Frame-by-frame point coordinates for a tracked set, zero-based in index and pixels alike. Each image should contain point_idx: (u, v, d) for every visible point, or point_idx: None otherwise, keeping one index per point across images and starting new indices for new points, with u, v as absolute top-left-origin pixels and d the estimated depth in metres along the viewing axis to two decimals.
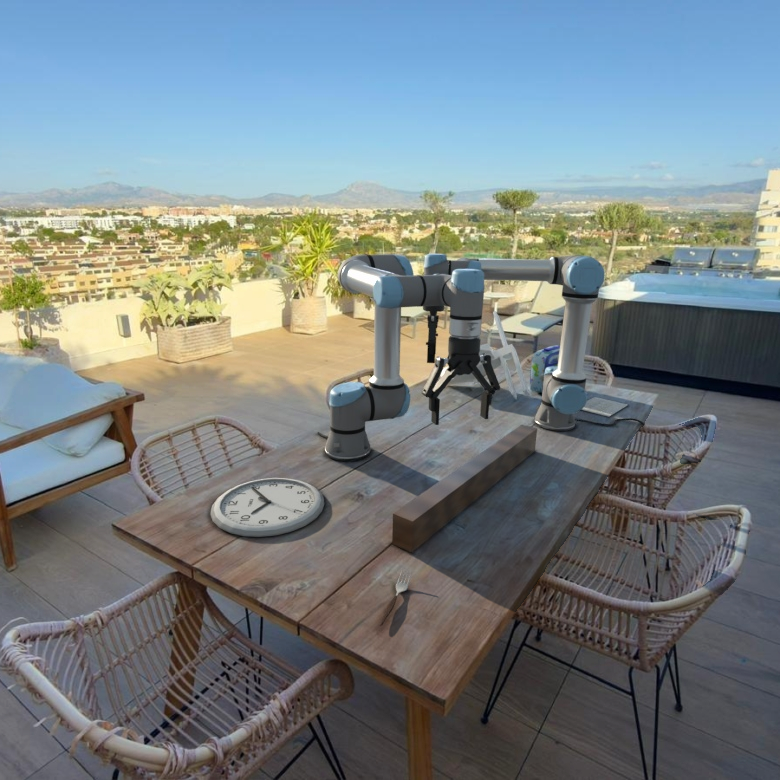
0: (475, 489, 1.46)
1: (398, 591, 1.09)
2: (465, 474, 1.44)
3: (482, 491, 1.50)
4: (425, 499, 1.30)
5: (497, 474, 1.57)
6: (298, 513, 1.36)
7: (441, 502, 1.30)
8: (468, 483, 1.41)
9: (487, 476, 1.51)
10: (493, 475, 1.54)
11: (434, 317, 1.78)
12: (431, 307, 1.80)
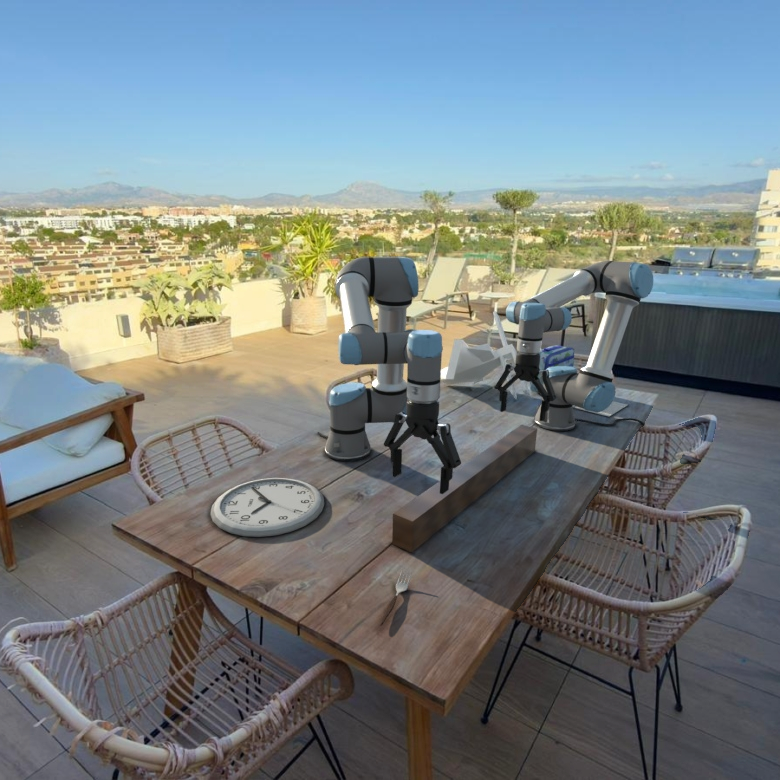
0: (475, 489, 1.46)
1: (398, 591, 1.09)
2: (465, 474, 1.44)
3: (482, 491, 1.50)
4: (425, 499, 1.30)
5: (497, 474, 1.57)
6: (298, 513, 1.36)
7: (441, 502, 1.30)
8: (468, 483, 1.41)
9: (487, 476, 1.51)
10: (493, 475, 1.54)
11: (548, 371, 1.64)
12: (538, 361, 1.64)
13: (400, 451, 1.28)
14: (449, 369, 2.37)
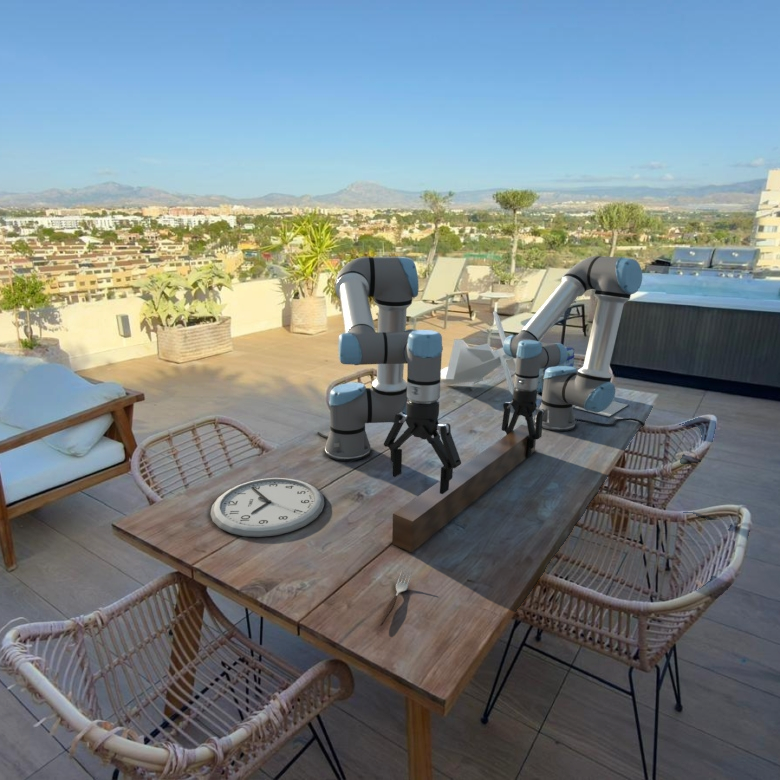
0: (475, 489, 1.46)
1: (398, 591, 1.09)
2: (465, 474, 1.44)
3: (482, 491, 1.50)
4: (425, 499, 1.30)
5: (497, 474, 1.57)
6: (298, 513, 1.36)
7: (441, 502, 1.30)
8: (468, 483, 1.41)
9: (487, 476, 1.51)
10: (493, 475, 1.54)
11: (543, 411, 1.68)
12: (535, 398, 1.68)
13: (400, 451, 1.28)
14: (449, 369, 2.37)
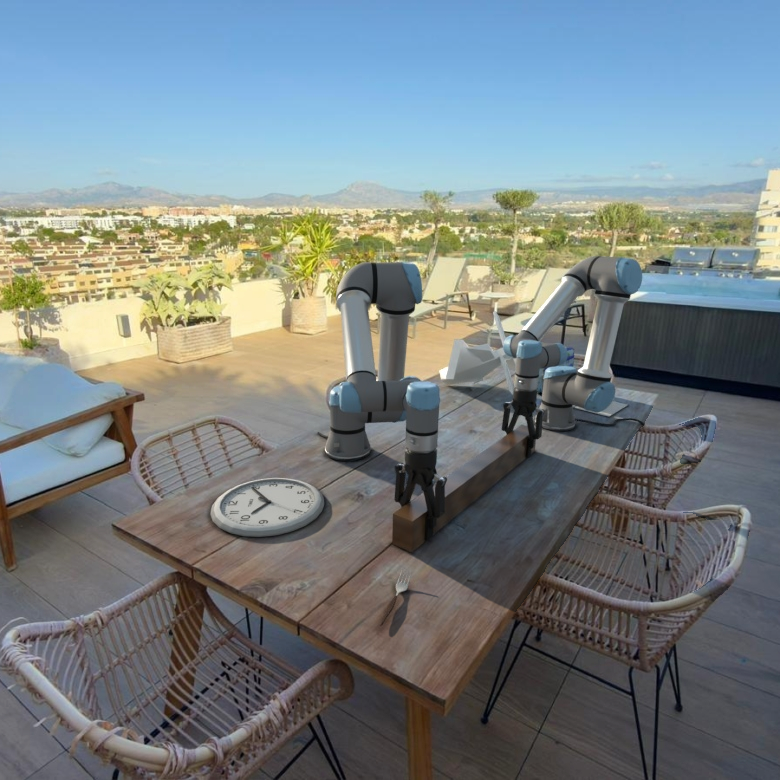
0: (475, 489, 1.46)
1: (398, 591, 1.09)
2: (465, 474, 1.44)
3: (482, 491, 1.50)
4: None
5: (497, 474, 1.57)
6: (298, 513, 1.36)
7: None
8: (468, 483, 1.41)
9: (487, 476, 1.51)
10: (493, 475, 1.54)
11: (543, 411, 1.68)
12: (535, 398, 1.68)
13: None
14: (449, 369, 2.37)
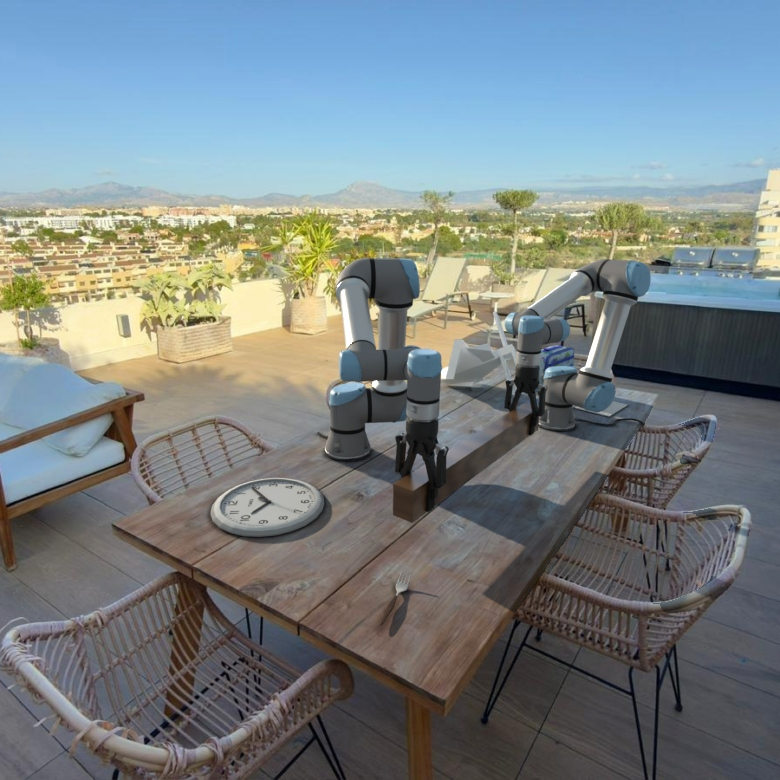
0: (478, 463, 1.44)
1: (398, 591, 1.09)
2: (467, 448, 1.42)
3: (484, 466, 1.48)
4: (426, 471, 1.28)
5: (500, 450, 1.55)
6: (298, 513, 1.36)
7: None
8: (470, 456, 1.39)
9: (490, 451, 1.49)
10: (495, 450, 1.52)
11: (546, 388, 1.66)
12: (537, 374, 1.65)
13: None
14: (449, 369, 2.37)
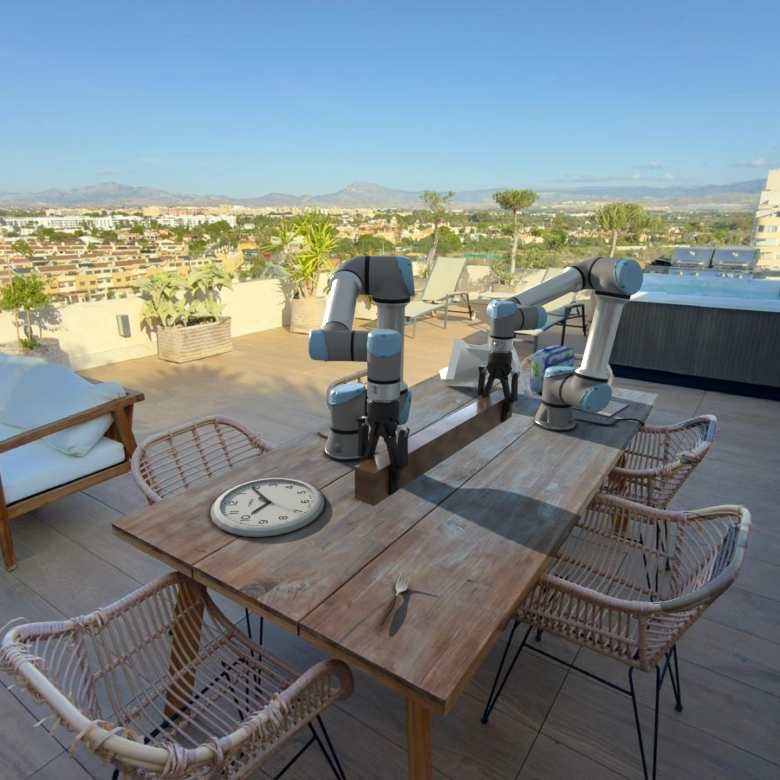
0: (445, 448, 1.43)
1: (398, 591, 1.09)
2: (434, 432, 1.41)
3: (453, 451, 1.47)
4: None
5: (470, 435, 1.54)
6: (298, 513, 1.36)
7: None
8: (436, 440, 1.38)
9: (458, 437, 1.48)
10: (465, 436, 1.51)
11: (519, 374, 1.65)
12: (510, 360, 1.64)
13: None
14: (449, 369, 2.37)
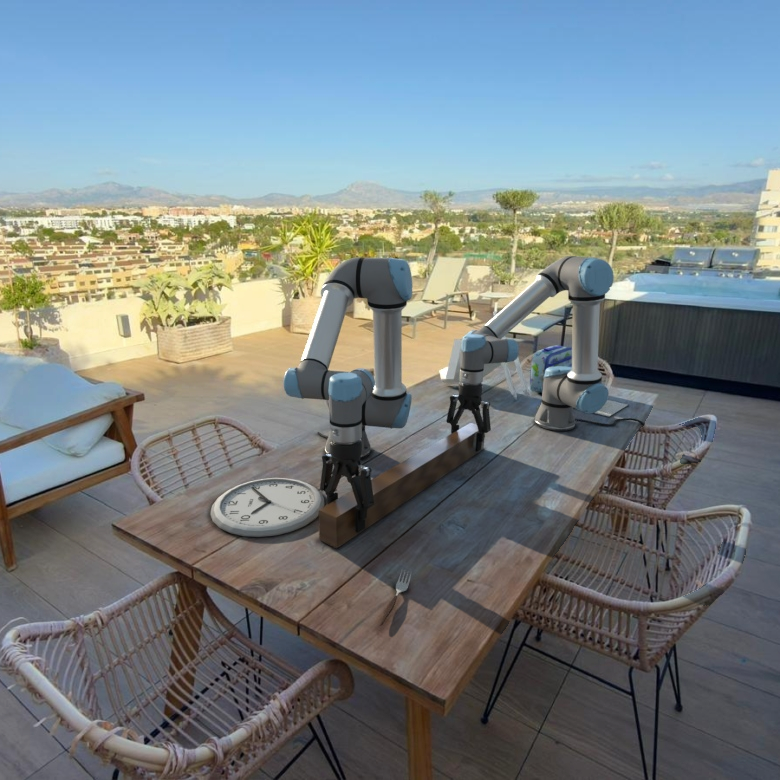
0: (412, 486, 1.47)
1: (398, 591, 1.09)
2: (401, 471, 1.45)
3: (420, 488, 1.51)
4: (354, 496, 1.31)
5: (439, 471, 1.58)
6: (298, 513, 1.36)
7: None
8: (403, 480, 1.42)
9: (426, 474, 1.52)
10: (433, 472, 1.55)
11: (489, 404, 1.68)
12: (480, 392, 1.68)
13: (336, 495, 1.31)
14: (449, 369, 2.37)
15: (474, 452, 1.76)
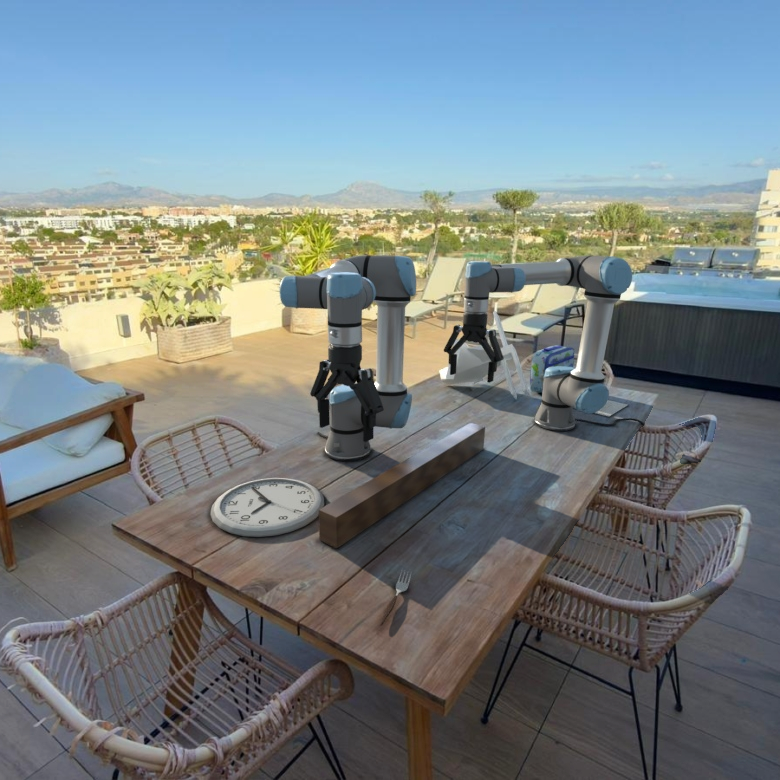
0: (412, 486, 1.47)
1: (398, 591, 1.09)
2: (401, 471, 1.45)
3: (420, 488, 1.51)
4: (354, 496, 1.31)
5: (439, 471, 1.58)
6: (298, 513, 1.36)
7: (371, 499, 1.31)
8: (403, 480, 1.42)
9: (426, 474, 1.52)
10: (433, 472, 1.55)
11: (494, 331, 1.61)
12: (485, 321, 1.61)
13: (327, 401, 1.25)
14: (449, 369, 2.37)
15: (474, 452, 1.76)
